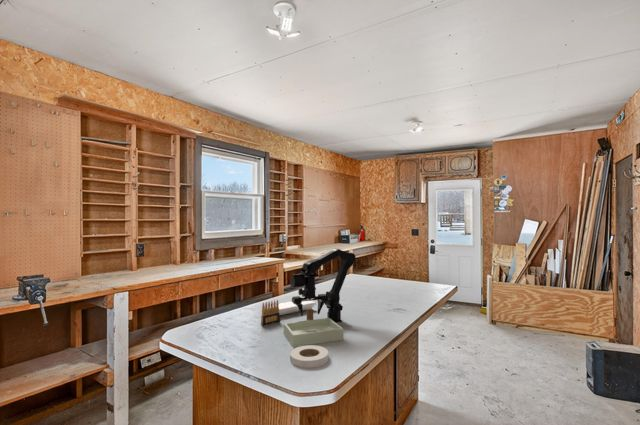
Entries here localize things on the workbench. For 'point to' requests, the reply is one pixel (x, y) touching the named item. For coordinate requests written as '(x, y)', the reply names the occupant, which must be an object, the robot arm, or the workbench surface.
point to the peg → (309, 314)
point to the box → (312, 332)
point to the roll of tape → (314, 361)
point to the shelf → (294, 307)
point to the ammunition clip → (270, 313)
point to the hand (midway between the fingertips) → (310, 315)
